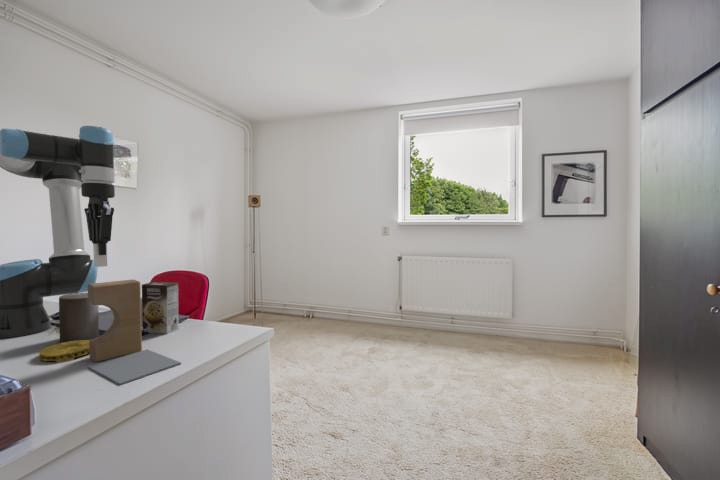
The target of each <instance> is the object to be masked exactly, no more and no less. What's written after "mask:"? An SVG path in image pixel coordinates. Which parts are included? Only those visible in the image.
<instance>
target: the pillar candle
mask: <svg viewBox="0 0 720 480" xmlns="http://www.w3.org/2000/svg"><path fill="white" fill-rule="evenodd" d="M99 313H100V312H99V305H93V304H92V303H90V302H89V301H88V291H87V292H81V293H79V291H78V293H73V294H65V295H59V298H58V314H59V315H58V318H59V319H58V323H59V326H58V327H59V343H64V342H69V341H77V340H92V339H94V338H97V337H100V334H99V333H100V330H99V329H100V327H99V326H100V322H99V321H100V319H99V316H100V315H99Z"/></svg>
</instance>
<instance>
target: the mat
mask: <svg viewBox="0 0 720 480" xmlns="http://www.w3.org/2000/svg"><path fill="white" fill-rule="evenodd" d="M179 365H182V362H181V361H178V360H175V359H173V358H170V357H168V356H165V355H162V354H161V353H158V352H156V351H155V352H154V351H152V350H150V349H142V351H140V352H136V353H133V354H129V355H125V356H121V357H116V358H112V359H108V360H104V361H100V362H97V363H95V364H91V365H88V366H87V368H88V369H90V370H92V372H95V373H97V374H98V375H101V376H102V377H105V378H106V379H108V380H110V381H112V382H113V383H115V384H117V385H118V386H122V385H124V384H128V383H131V382H132V381H136V380H139V379H141V378H145V377H148V376H150V375H151V376H152V375H153V374H157V373H158V372H160V373H161V371H166V370H169V369H171V368H174V367H176V366H179Z"/></svg>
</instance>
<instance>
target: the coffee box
mask: <svg viewBox="0 0 720 480" xmlns="http://www.w3.org/2000/svg"><path fill="white" fill-rule="evenodd" d="M141 295H142V320H143V329H147V330H148V333H147V334H161V335H168V334H170V333H172V332H175V331H176V330H178V329H179V326H180V325H179V282H167V281H164V282H163V281H153V282H147V283H144V284H141Z"/></svg>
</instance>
